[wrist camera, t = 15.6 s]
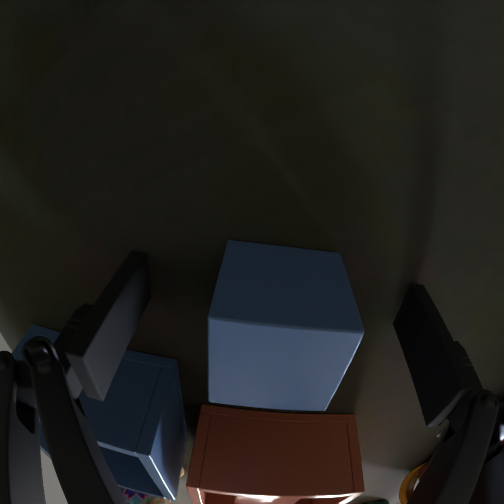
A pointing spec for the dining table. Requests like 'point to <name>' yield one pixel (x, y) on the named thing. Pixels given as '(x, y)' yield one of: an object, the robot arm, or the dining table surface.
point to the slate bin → (136, 421)
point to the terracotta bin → (274, 457)
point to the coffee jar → (378, 502)
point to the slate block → (280, 327)
